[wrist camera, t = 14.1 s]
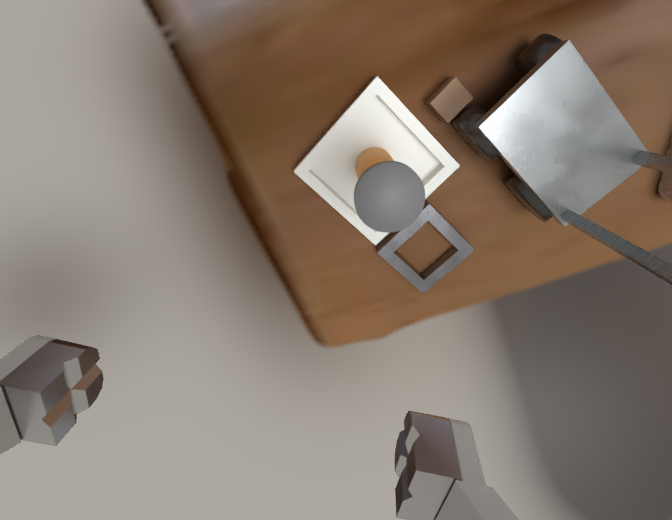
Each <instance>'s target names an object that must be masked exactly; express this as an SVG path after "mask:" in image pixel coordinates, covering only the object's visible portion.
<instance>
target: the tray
mask: <svg viewBox="0 0 672 520" xmlns="http://www.w3.org/2000/svg"><path fill="white" fill-rule="evenodd" d="M371 147H379V148H382V149H384V150H385V151H387V152H388V153H389V155H390V156H391V157H392V158H393V160H394V161H398V162H401V163H404V164H406V165H407V166H409V167H410V168H411V169H413V170H414V171H415V172H416V174H417V175H418V176H419V177H420V179H421V181H422V183H423V185H424V189H425V198H427V197H428V196H429V195H430V194H431V193H432V192H433V191H434V190H435V189H436V188H437V187H438V186H439V185H440V184H441V183H442V182H444V181H445V180H446V179H447V178H448V177H449V176H450V175H451V174H452V173H453V172H454V171H455V170H456V169H457V168H458V167H459V166H460V165H459V164H458V163H457V162H456V161H455V160H454V159H453V158H452V157H451V156H450V154H449V153H448V152H447V151H446V150H445V149H444V148H443V147H442V146H441V145H440V144H439V143H438V141H437V140H436V139H435V138H434V137H433V136H432V135H431V134H430V133H429V132H428V131H427V130H426V128H425V127H424V126H423V125H422V124H421V123H420V122H419V121H418V120H417V119H416V118H415V117H414V115H413V114H412V113H411V112H410V111H409V110H408V109H407V108H406V107H405V106H404V105H403V103H402V102H401V101H400V100H399V99H398V98H397V97H396V96H395V95H394V94H393V93H392V92H391V90H390V89H389V88H388V87H387V86H386V85H385V84H384V83H383V82H382V81H381V80H380V79H379V77H378V76H376V77H374V79H373V80H372V81H371V82H370V83H369V84H368V85H367V87H366V88H365V89H364V90H363V91H362V92H361V93H360V95H359V96H358V97H357V98H356V99H355V100H354V101H353V103H352V104H351V105H350V106H349V107H348V108H347V109H346V111H345V112H344V113H343V114H342V115H341V116H340V117H339V118H338V120H337V121H336V122H335V123H334V124H333V125H332V126H331V128H330V129H329V130H328V131H327V132H326V133H325V134H324V136H323V137H322V138H321V139H320V140H319V141H318V142H317V144H316V145H315V146H314V147H313V148H312V149H311V150H310V152H309V153H308V154H307V155H306V156H305V157H304V158H303V159H302V161H301V162H300V163H299V164H298V165H297V166H296V168H295V169H294V171H293V172H294V173H295V174H297V175H298V176H299V177H300V178H301V179H302V180H303V181H304V182H305V183H307V184H308V185H309V186H310V187H311V188H312V189H313V190H314V191H316V192H317V193H318V194H319V195H320V196H321V197H322V198H323V199H324V200H326V201H327V202H328V203H329V204H330V205H331V206H332V207H333V208H334V209H336V210H337V211H338V212H339V213H340V214H341V215H342V216H343V217H344V218H346V219H347V220H348V221H349V222H350V223H351V224H352V225H353V226H354V227H356V228H357V229H358V230H359V231H360V232H361V233H362V234H363V235H364V236H366V237H367V238H368V239H369V240H370V241H371V242H372V243H373V244H374V245H377V244H378V243H379V242H380V241H381V240H382V239H383V238H384V237H385V236H386V235H387V234H388V233H386V232H379V231H376V230H373V229H371V228H370V227H368V226H367V225H366V224H364V223H363V222H362V220H361V219H360V218H359V216H358V214H357V212H356V209H355V204H354V189H355V185H356V183H357V181H358V177H357V173H356V161H357V158H358V157H359V155H360V154H361V153H362V152H363V151H364V150H366V149H368V148H371Z"/></svg>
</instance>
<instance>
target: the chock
mask: <svg viewBox="0 0 672 520" xmlns="http://www.w3.org/2000/svg"><path fill="white" fill-rule="evenodd" d="M472 99H473V97H472V96H471V95H470V93H469V92H468V91H467V90H466V89H465V87H464V86H463V85H462V84H461V83H460V81H459V80H458V79H457V78H456V77H448V78H447V79H446V80H445V81H444V82H443V83H442V84H441V85H440V86H439V87H438V88H437V89H436V90H435V91H434V92H433V94H432V95H431V96H430V97H429V98H428V99H427V100H426V101H425V103H426V105H427V106H428V107H429V108H430V109H431V110H432V111H433V112H434V113H435V115H436V116H437V117H438V118H439V119H440V120H441V121H443V122H445V123H449V122H450V121H451V120H452V119H453V118H454V117H455V116H456V115H457V114H458V113H459V112H460V111H461V110H462V109H463V108H464V107H465V106H466V105H467V104H468V103H469V102H470V101H471V100H472Z"/></svg>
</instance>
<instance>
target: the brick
mask: <svg viewBox="0 0 672 520" xmlns="http://www.w3.org/2000/svg"><path fill="white" fill-rule="evenodd" d="M666 156H670V157H672V138H671V141H670V145H669V148H668V151H667V155H666ZM658 191H659V194H660V195H661V197H662V198H664V199H665V200H668V201H670V202H672V174H669V173H666V172H662V174H661V180H660V183H659V188H658Z"/></svg>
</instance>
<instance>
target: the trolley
mask: <svg viewBox="0 0 672 520" xmlns="http://www.w3.org/2000/svg"><path fill="white" fill-rule="evenodd" d="M516 62H517V66H518V69H519V71H520V73H521V74H522V76H523V78H522V79H521V80H520V81H519V82H518V83H517V84H516V85H515V86H514V87H513V88H512V89H511V90H510V91H509V92H508V93H507V94H506V95H505V96H504V97H503V98H502V99H500V100H499V101H498V102H497V103H496V104H495V105H494V106H493V107H492V108H491V109H490V110H489V111H488V112H487V113H486V112H485V111H484V110H483V109H481V108H480V107H478V106H477V105H475V104H470V105H469V106H468V107H467V108H466V109H465V110H464V111H463V112H462V113H461V114H460V115H459V116H458V117H457V118H456V119H455V120H454V121H453V122H452V124H453V126H454V128H455V129H456V130H457V132H458V133H459V134H460V135H461V137H462V138H463V139H464V140H465V141H466V142H467V143H468V144H469V145H470V146H471V147H472V148H473V149H474V150H475V151H476V152H477V153H478V154H479V155H480V156H481V157H483V158H484V159H485V160H486V161H488V162H489V163H491V164H493V163H494V162H496V161H497V160H498V159H499V158H500V157H501V158H502V159H503V160H504V161H505V162H506V164H507V165H508V166H509V167H510V168H511V169H512V170H513V172H514V173H515V175H514V176H513V177H512V178H511V179H510V180H508V181H507V182H506V183H505V184H506V186H507V188H508V189H509V190H510V191H511V193H512V194H513V195H514V196H515V197H516V198H517V199H518V200H519V201H520V202H521V203H522V204H523V205H524V206H525V207H526V208H527V209H528V210H529V211H530V212H531V213H532V214H534V215H535V216H536V217H537V218H539V219H540V220H542V221H543V222H546V221H548V220H549V219H550V218H551V217H553V218H554V219H555V220H556V221H557V222H558V223H559V224H561V225H563V226H564V227H566V226H567V225H568V224H570V225H572V226H573V227H575V228H577V229H578V230H580V231H582V232H583V233H585V234H587V235H588V236H590V237H592V238H593V239H595V240H597V241H598V242H600V243H602V244H603V245H605V246H607V247H608V248H610V249H612V250H613V251H615V252H617V253H618V254H620V255H622V256H623V257H625V258H627V259H628V260H630V261H632V262H633V263H635V264H637V265H638V266H640V267H642V268H643V269H645V270H647V271H648V272H650V273H651V274H653V275H655V276H656V277H658V278H660V279H661V280H663V281H665V282H667V283H669V284H670V285H671V286H672V265H671V264H669V263H667V262H666V261H664V260H662V259H660V258H658V257H656V256H655V255H653V254H651V253H649V252H647V251H645V250H643V249H642V248H640V247H638V246H636V245H634V244H632V243H631V242H629V241H627V240H625V239H623V238H621V237H619V236H618V235H616V234H614V233H612V232H610V231H608V230H606V229H605V228H603V227H601V226H599V225H597V224H595V223H593V222H592V221H590V220H588V219H586V218H584V217H582V216H581V214H582V213H583V212H585V211H586V210H587V209H589V208H590V207H591V206H592V205H594V204H595V203H596V202H597V201H599V200H600V199H601V198H603V197H604V196H605V195H606V194H608V193H609V192H610V191H611V190H613V189H614V188H615V187H616V186H618V185H619V184H620V183H622V182H623V181H624V180H625V179H627V178H628V177H629V176H630V175H632V174H633V173H634V172H635V171H637V170H638V169H639V168H641V167H642V166H643V167H647V168H651V169H655V170H658V171H662V172H666V173H669V174H672V157H670V156H665V155H661V154H656V153H651V152H648V151H647V150H646V148H645V147H644V145H643V144H642V142H641V141H640V140H639V138H638V137H637V135H636V134H635V133H634V131H633V130H632V128H631V127H630V125H629V124H628V123H627V121H626V120H625V118H624V117H623V115H622V114H621V113H620V111H619V110H618V108H617V107H616V106H615V104H614V103H613V101H612V100H611V98H610V97H609V96H608V94H607V93H606V91H605V90H604V88H603V87H602V86H601V84H600V83H599V81H598V80H597V79H596V77H595V76H594V74H593V73H592V71H591V70H590V69H589V67H588V66H587V64H586V63H585V61H584V60H583V59H582V57H581V56H580V54H579V53H578V51H577V50H576V49H575V47H574V46H573V44H572V43H571V42H570V40H566V41H562V40H560V39H558V38H557V37H555V36H552V35H549V34H541V35H539V36H538V37H537V38H536V39H535V40H534V41H533V42H532V43H531V44H530V45H529V46H528V47H527V48H526V49H525V50H524V51H523V52H522V53H521V54H520V55H519V56H518V57H517V60H516Z"/></svg>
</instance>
